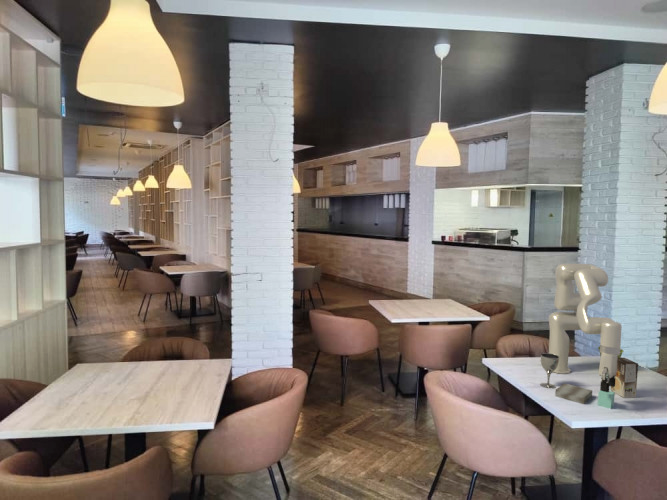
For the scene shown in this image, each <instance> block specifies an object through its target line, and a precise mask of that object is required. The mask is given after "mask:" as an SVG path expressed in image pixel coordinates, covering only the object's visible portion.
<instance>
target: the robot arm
mask: <svg viewBox="0 0 667 500" xmlns="http://www.w3.org/2000/svg"><path fill="white" fill-rule="evenodd" d="M554 273H555V281H556V286H555V291H554V294H555V295H554V301H553V303H554V305H553V306H554V307H555V309H557V310H560V311H554V312H552V313H550V314H549V316H548V326H549V342H548V353H550V354H555V355H557V356H559V363H558V366H557V368H556V369H555V370H554V371H553V372H552V373H556V374H562V375H563V374H570V373H572V371H571V368H570V367H569V354H570V353H569V350H570V337H569V335H568V334H567V332H566V331H580V330H581V331H582V333H584V334H586V335H600V343H599V344H600V345H599V347H600V352H599V354H600V353H601V357H600V359H599V367H598V375H599V376H601V377H600V378H601V379H600V388H599V389H600V390H601V391H604V392H609V391H610V387H611V386H612V387H615V379H616V378H615V377H616V375H615V374H616V372H617V356H618V355H620V349H621V343H622V324H621V323H619V322H618V321H615V320H614V319H612V318H610V317H600V316H598V317H595V316H594V317H593V316H588V308H589V306H591V305H594V304H596V303H598V302H600V301H601V299H602V297H603V296H602V294H601V293H602V292H601V291H600V288H599V287H603V288H604V287H606V286H607V285H608V282H609V276H608V273H607V272H606V271H605V270H604V269H602V268H601V267H598V266H596V265H594V264H589V263H560V264H558V265H557V267H556V268H555V271H554ZM574 282H575V283H574ZM575 285H576V287H577V291H578V292H575ZM539 361H540V363H541V358H540V360H539ZM600 390H599V391H600Z"/></svg>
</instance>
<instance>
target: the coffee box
mask: <svg viewBox="0 0 667 500" xmlns="http://www.w3.org/2000/svg"><path fill="white" fill-rule="evenodd" d="M638 368H639V363H637V362H635V361H633V360H630V359H629V358H626V357H621V358H617V372H616V374H615V375H616V377H615V378H616V379H615V387H612V386H610V391H611V392H615V395H618V396H620V397H622V398H624V399H627V398H628V399H631V398H632V399H633V398H636V397H637V385H638V371H639V369H638Z"/></svg>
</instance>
